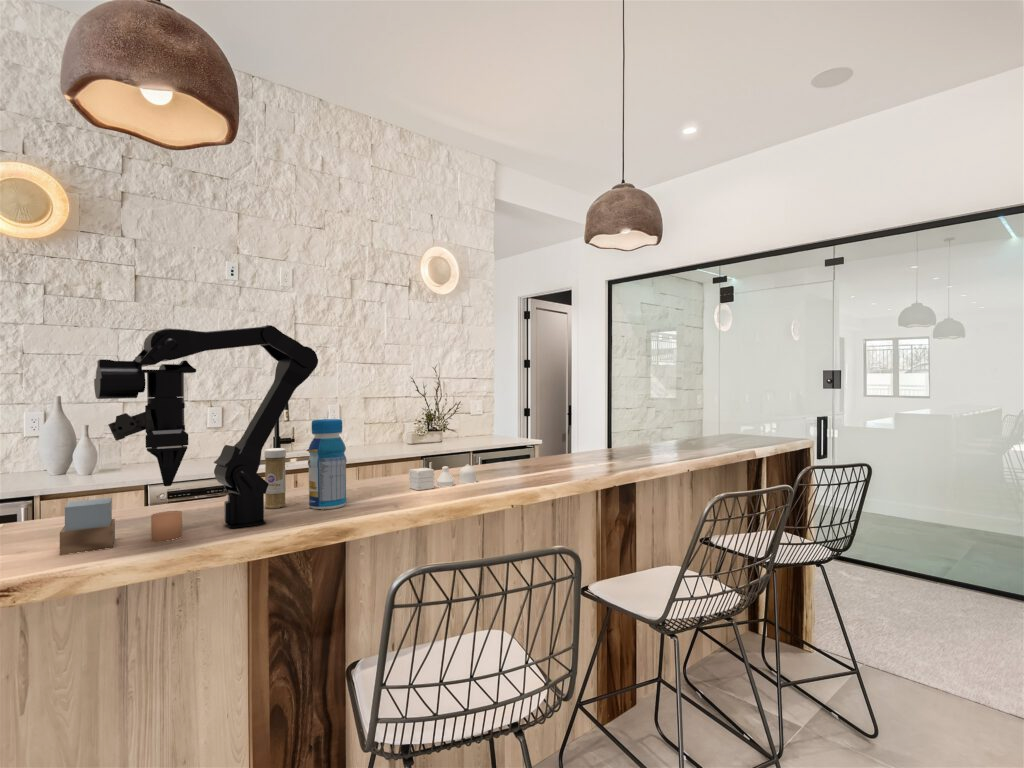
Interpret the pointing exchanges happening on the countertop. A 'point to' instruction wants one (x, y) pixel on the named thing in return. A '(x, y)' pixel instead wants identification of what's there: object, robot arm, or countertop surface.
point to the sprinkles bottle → (275, 477)
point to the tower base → (87, 539)
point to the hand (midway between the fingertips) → (167, 482)
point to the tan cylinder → (166, 525)
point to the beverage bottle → (327, 465)
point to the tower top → (88, 514)
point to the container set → (425, 477)
